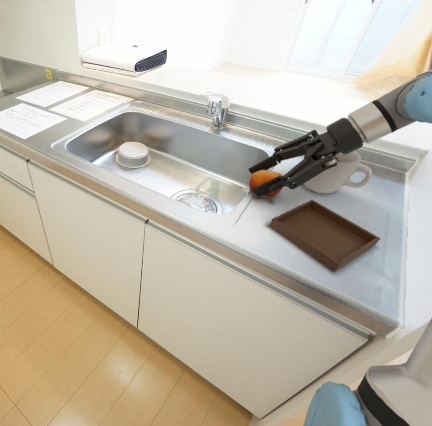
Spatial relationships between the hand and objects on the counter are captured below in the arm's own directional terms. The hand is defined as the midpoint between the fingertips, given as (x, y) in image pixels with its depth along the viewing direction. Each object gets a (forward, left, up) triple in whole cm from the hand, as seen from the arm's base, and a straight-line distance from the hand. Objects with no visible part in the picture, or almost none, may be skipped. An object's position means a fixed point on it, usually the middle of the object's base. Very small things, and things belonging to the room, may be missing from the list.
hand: (253, 182), depth 74 cm
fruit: (-2, -2, -3) cm, 5 cm away
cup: (-9, -18, -3) cm, 21 cm away
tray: (-19, 0, -3) cm, 19 cm away
